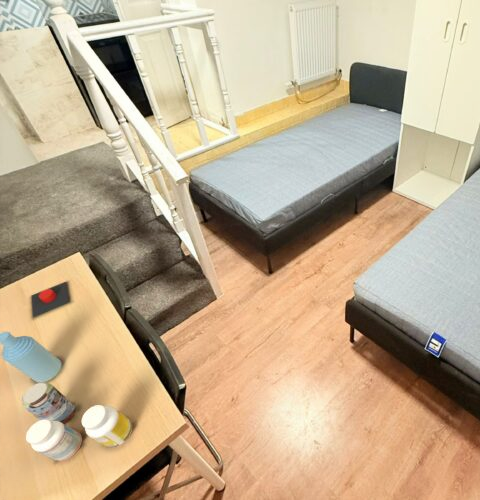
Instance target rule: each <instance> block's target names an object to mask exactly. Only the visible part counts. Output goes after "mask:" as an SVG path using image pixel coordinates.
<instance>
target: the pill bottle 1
mask: <svg viewBox="0 0 480 500" xmlns="http://www.w3.org/2000/svg"><path fill="white" fill-rule="evenodd" d="M25 440H26V442H27V443H29V444H30V446H31V448H32V450H34V451H35V452H37V453H39V454H42V455H44V456H46V457H48V458H50V459H53V460H55V461H58V462H62V461H66V460H68V459H70V458H71V457H72V456H74V455H75V454H76V453H77V452H78V451H79V450H80V447H81V446H82V442H83V437H82V434H81V433H80V432H78V431H77V430H75V429H73V428H71V427H70V426H68V425H67V424H63V423H61V422H59V421H49V420H46V419H43V420H38V421H35V422H34V423H33V424H32V425H31V426H30V427H29V429H28V430H27V432H26V435H25Z"/></svg>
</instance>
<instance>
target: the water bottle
mask: <svg viewBox="0 0 480 500" xmlns="http://www.w3.org/2000/svg"><path fill="white" fill-rule="evenodd" d="M0 345H2V346H3V347H2V351H1V357H2V359H3V360H4V362H6V363H8V364H10V365H11V366H12V367H14V368H15V369H17V370H18V371H20V372H21V373H23V374H24V375H26V377H28V378H30V379H32V381H34V382H36V383H47V382H48V381H50V380H51V379H53V378H55V377H56V376H57V375H58V373H59V372H60V371H61V369H62V364H63V363H62V361H61V360H60V359H59V358H58V357H57V356H56V355H54V353H52V352H51V351H49V350H48V349H47V348H46V347H45V346H43V345H42V344H41V343H39V342H38V341H37V340H36V339H35V338H34V337H32V336H29V335H22V336H21V335H20V336H14V335H13V334H12V333H11V332H9V331H3V332H0Z"/></svg>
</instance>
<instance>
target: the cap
mask: <svg viewBox="0 0 480 500" xmlns="http://www.w3.org/2000/svg"><path fill="white" fill-rule="evenodd" d="M40 292H41V291H40ZM39 298H40V299H41V300H42V301H43V302H45V303H48V302H51V301H53V300H54V299H55V298H56V294H55V293H54V291H53V290H51V289H49V288H47V289H44V290H42V292H41V293H40V294H39Z"/></svg>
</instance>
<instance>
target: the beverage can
mask: <svg viewBox="0 0 480 500" xmlns="http://www.w3.org/2000/svg"><path fill="white" fill-rule="evenodd" d="M21 401H22V407H23V408H24V409H25V410H26V411H28V412H29V413H31V414H32V415H33V416H34V417H36V418H37V419H38V421H40V420H43V419H46V420H49V421H59V422H61V423H63V424H65V425H67V424H68V423H69V422H70V421H71V420H72V419H73V417H74V415H76V412H77V411H76V409H77V408H76V406H75V405H74V404H73V403H72V402H71V401H70V400H69V399H68V398H67V397H66V396H65V395H64V394H63V393H62V392H61V391H60V390H58V388H56V387H55V386H54V385H53V384H51V383H47V382H42V383H39V382H37V383H35V384H33V385H32V386H31V387H29V388H28V389H27V390H26V391H25V392H24V393H23V395H22V397H21Z"/></svg>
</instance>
